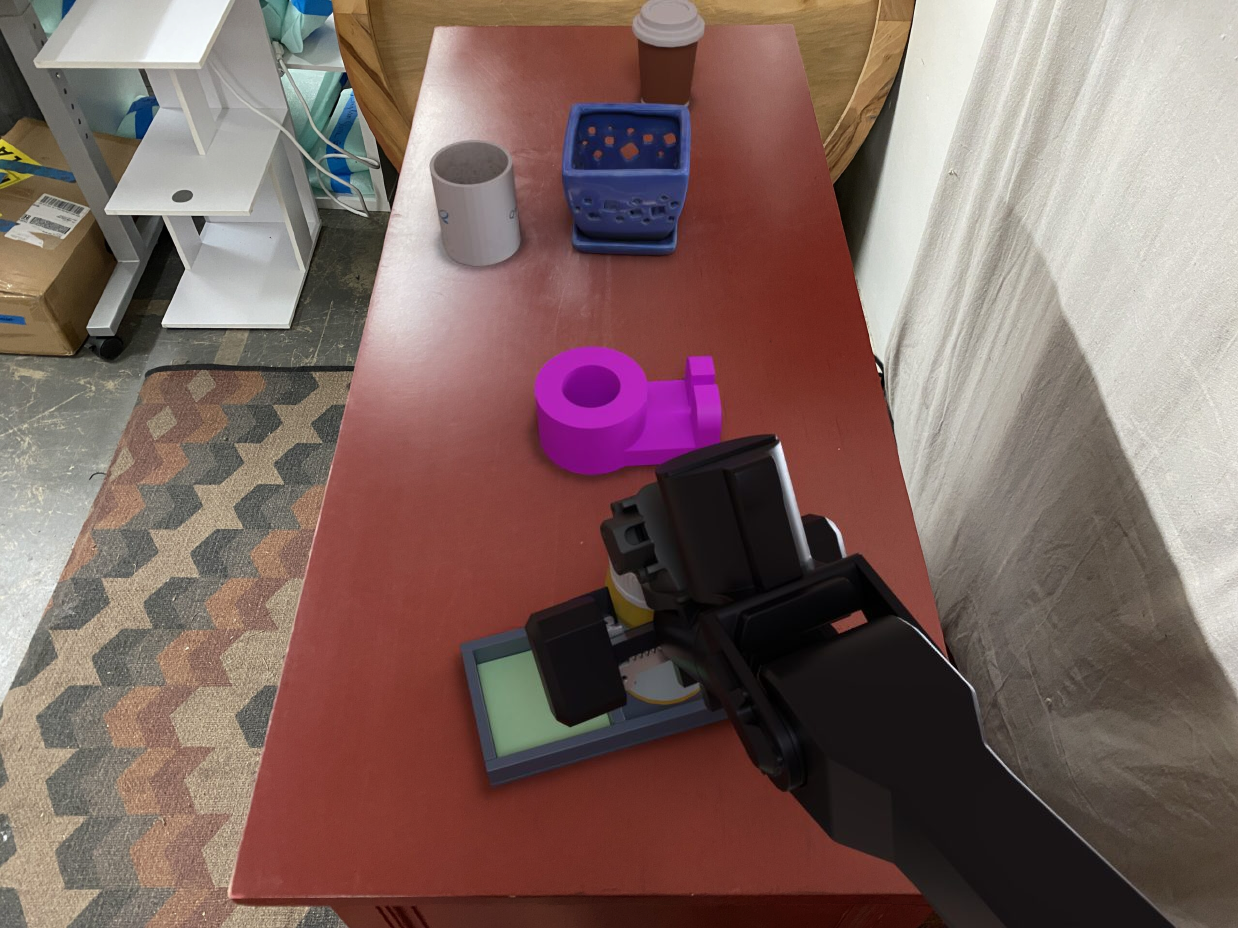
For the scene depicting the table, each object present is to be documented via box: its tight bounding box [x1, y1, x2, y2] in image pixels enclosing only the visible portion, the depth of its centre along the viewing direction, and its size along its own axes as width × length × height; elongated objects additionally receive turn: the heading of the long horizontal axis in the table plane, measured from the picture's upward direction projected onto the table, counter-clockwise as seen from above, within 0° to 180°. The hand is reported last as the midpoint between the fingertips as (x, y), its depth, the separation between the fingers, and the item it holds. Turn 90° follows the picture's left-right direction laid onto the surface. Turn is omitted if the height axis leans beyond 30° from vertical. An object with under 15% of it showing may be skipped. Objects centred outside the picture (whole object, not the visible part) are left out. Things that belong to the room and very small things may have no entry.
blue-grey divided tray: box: [459, 626, 729, 788], centre depth 68 cm, size 10×19×3 cm, turn 107°
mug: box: [428, 139, 522, 267], centre depth 100 cm, size 12×9×10 cm
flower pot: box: [561, 102, 692, 256], centre depth 100 cm, size 13×13×12 cm
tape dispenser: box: [534, 346, 723, 476], centre depth 83 cm, size 16×10×6 cm, turn 94°
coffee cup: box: [631, 0, 706, 108], centre depth 117 cm, size 9×9×12 cm
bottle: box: [604, 557, 700, 705], centre depth 59 cm, size 7×7×15 cm
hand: (651, 587), depth 60 cm, fingers closed on bottle, 7 cm apart
